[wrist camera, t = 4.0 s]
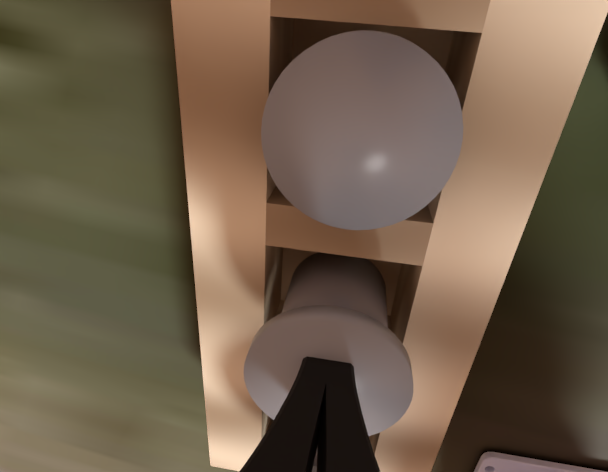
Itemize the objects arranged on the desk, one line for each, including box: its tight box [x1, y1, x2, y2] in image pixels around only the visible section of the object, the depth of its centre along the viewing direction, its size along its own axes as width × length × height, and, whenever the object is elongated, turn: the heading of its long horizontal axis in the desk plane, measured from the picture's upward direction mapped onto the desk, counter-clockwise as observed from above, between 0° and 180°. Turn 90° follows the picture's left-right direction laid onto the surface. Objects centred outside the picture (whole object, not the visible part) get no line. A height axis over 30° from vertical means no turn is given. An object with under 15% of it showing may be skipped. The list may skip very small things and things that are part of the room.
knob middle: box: [244, 252, 413, 436], centre depth 13 cm, size 5×5×4 cm
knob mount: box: [171, 0, 608, 472], centre depth 16 cm, size 21×10×4 cm, turn 176°
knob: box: [261, 30, 463, 230], centre depth 12 cm, size 5×5×4 cm
